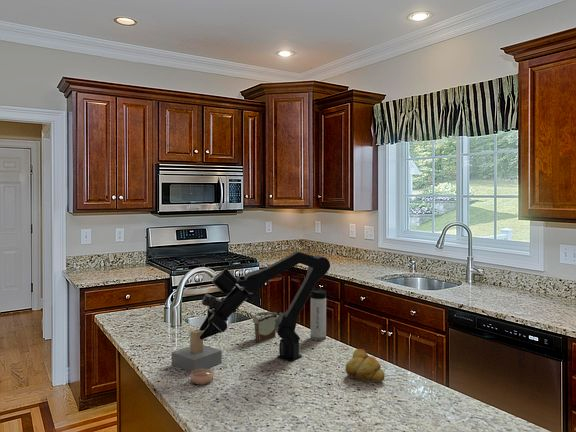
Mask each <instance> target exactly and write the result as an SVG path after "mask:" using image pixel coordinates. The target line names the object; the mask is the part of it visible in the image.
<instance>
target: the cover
mask: <svg viewBox="0 0 576 432" xmlns="http://www.w3.org/2000/svg"><path fill="white" fill-rule="evenodd" d="M202 333H203V331H201V330H199V329H195V330H194V329H193V330H190V331H189V338H190V342H189V343H190V346H186V347H183V348H181V349H178V350H177V349H176V350H175V351H172V352H171V366H173V367H176V368H179V369H180V370H181V369H182V370H185V371H188V372H190V373H191V372H192V371H194V370H197V369H210V368H212V367H215V366H218V365H220V364H222V363H223V362H222V360H223V359H222V356H223V355H222V350H221V349H219V348H214V347H211V346H207V345H205V344H204V339H202V340H201V339H200V338H199V337H200V336H201V334H202Z"/></svg>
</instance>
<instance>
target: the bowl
mask: <svg viewBox="0 0 576 432" xmlns="http://www.w3.org/2000/svg"><path fill="white" fill-rule="evenodd" d="M213 380H214V371H213V370H212V369H210V368H207V369H197V370H194V371H192V372H190V382H191V383H193V384H196V385H206V384H209V383H210V382H212V381H213Z"/></svg>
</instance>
